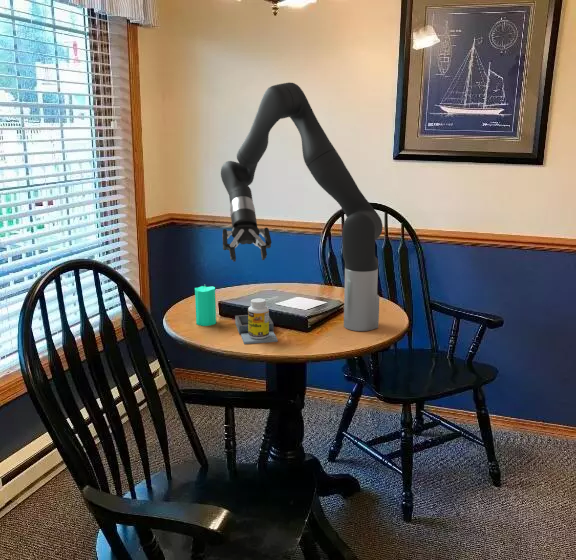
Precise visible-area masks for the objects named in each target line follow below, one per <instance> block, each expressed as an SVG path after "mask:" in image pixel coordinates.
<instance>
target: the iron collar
mask: <svg viewBox="0 0 576 560" xmlns="http://www.w3.org/2000/svg"><path fill="white" fill-rule="evenodd" d="M234 319H235V320H234V322H235V327H236V329H237V332H238V334H239V335H240V336H241V334H246V333H249V330H248V314H243V315H242V314H241V315H240V314H239V315H234ZM274 326H275V325H274V322H273V320H272V318H271V317H270V316H269V332H274V331H275V330H274ZM274 333H275V332H274Z"/></svg>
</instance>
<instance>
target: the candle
mask: <svg viewBox="0 0 576 560" xmlns="http://www.w3.org/2000/svg"><path fill="white" fill-rule="evenodd" d="M194 302H195V303H194V304H195V323H196V324H195V325H197V326H201V327H208V326H214V325H215V324H217V309H216V307H217V306H216V304H217V303H216V302H217V301H216V287H215V286H206V285H201V286H198V287H194Z"/></svg>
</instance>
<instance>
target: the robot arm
mask: <svg viewBox="0 0 576 560" xmlns="http://www.w3.org/2000/svg"><path fill="white" fill-rule="evenodd" d="M287 118H290V119H291V121H292V122H293V124H294V126H295V128H296V129H297V130H298V133H299V135H300V138H301V139H300V140H301V146H302V147H301V149H302V157H303V162H304V165H306V168H307V169H308V171H309V173H310V174H311V175H312V177H313V178H314V180H315V181H316V183H317V184H318V185H319V186H320V187H321V189H323V191H325V192H326V193H327V194H328V195H330V197H332V199H333V200H335V201H336V203H337V204H338V205H339V207H340V208H341V209H342V211H343V213H344V215H345V217H346V218H345V220H344V222H343V225H342V258H343V261H344V291H343V292H344V293H343V294H344V298H343V300H344V302H343V327H344V328H345V329H348V330H350V331H354V332H355V331H356V332H367V331H373V330H374V329H379V325H380V323H379V321H380V295H379V294H378V277H379V276H378V275H379V259H378V258H377V256H376V252H375V251H376V249H375V247H376V240H377V239H378V238H379V237H380V236H381V235H382V232H383V227H384V226H383V221H382V219H381V217H380V215H379V214H378V213H377V210H376V209H374V208H373V206H372V205H371V204H370V202H369V201H368V200H367V199H366V196H364V194H363V193H362V191H361V189H359V186H358V185H357V183H356V182H355V180H354V178H353V177H352V174H351V173H350V171H349V170H348V168H347V166H346V165H345V163H344V161H343V159H342V158H341V156H340V154H339V152H338V151H337V150H336V148H335V147H334V145H333V144H332V142H331V140H330V139H329V137H328V135H327V134H326V132H325V131H324V129H323V128H322V126H321V124H320V122H319V120H318V118H317V117H316V115H315V112H314V111H313V108H312V106H311V104H310V102H309V99H308V98H307V95H306V94H305V93H304V91H303V90H302V88H301V87H300V86H299V85H298V84H296V83H295V82H284V83H279V84H278V83H277V84H275V85H271V86H270V87H268V88H267V89H266V90H265V91H264V93H263V95H262V98H261V100H260V102H259V106H258V108H257V111H256V113H255V117H254V120H253V122H252V125H251V127H250V130H249V132H248V133H247V136H245V139H244V141H242V144H241V146H240V147H239V149H238V151H237V153H236V160H237V161H238V162H237V161H233V160H228V161H225V162H224V163H223V164H222V165H221V168H220V177H221V181H222V183H223V186H224V188H225V190H226V192H227V194H228V196H229V208H230V209H229V212H230V221H231V227H232V230H227V228H224V229H222V249H223V251H229V258H230V261H232V262H236V261H237V256H236V248H237V247H238V246H239V245H240V244H241V245H252V244H253V245H254V246H255V247H258V248H259V249H260V255H261V261H265V259H267V256H268V253H267V249H271V247H272V246H271V245H272V239H271V234H270V229H269V228H268V227H267V226H266V227H264V228H263V229H259V227H258V223H257V216H256V215H257V214H256V209H255V205H254V202H253V194H252V189H251V188H250V187H249V186H250V185H252V183H253V182H254V179H255V174H256V173H255V172H256V170H257V166H258V164H259V162H260V161H261V158H262V157H263V155H264V154H265V152H266V151H267V149H268V146H269V137H270V136H269V135H270V131H271V130H272V129H273V127H274V126H275V125H276V124H277V122H279V121H280V120H282V119H287ZM260 235H261V236H262V237H263V238H264V240H263V239H262V238H261V237H260ZM230 236H231V237H232V241H231V243H228V239H229V238H230Z"/></svg>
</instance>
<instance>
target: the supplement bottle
mask: <svg viewBox="0 0 576 560" xmlns="http://www.w3.org/2000/svg"><path fill="white" fill-rule="evenodd" d="M266 302H267V301H266V299H265V298H259V297H258V298H253V299H251V300H250V306H249V307H248V308H247V315H248V330H249V336H250V337H251V338H253V339H264V338H266V337H268V336H269V317H270V308H269V307H268V306H267V303H266Z"/></svg>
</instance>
